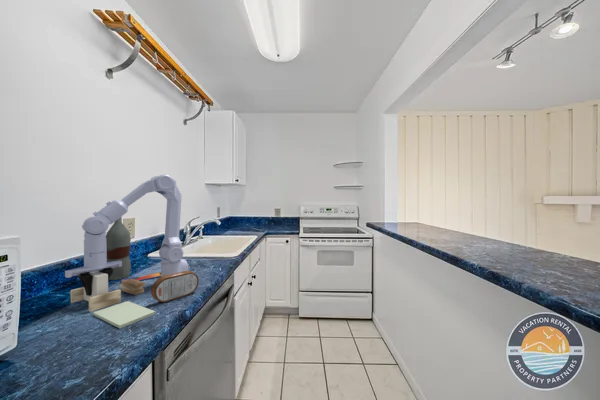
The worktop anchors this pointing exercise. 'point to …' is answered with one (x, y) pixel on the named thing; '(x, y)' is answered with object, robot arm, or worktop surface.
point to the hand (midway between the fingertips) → (95, 293)
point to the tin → (174, 286)
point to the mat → (124, 314)
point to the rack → (97, 298)
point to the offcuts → (132, 286)
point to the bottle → (118, 249)
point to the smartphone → (145, 277)
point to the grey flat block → (98, 284)
